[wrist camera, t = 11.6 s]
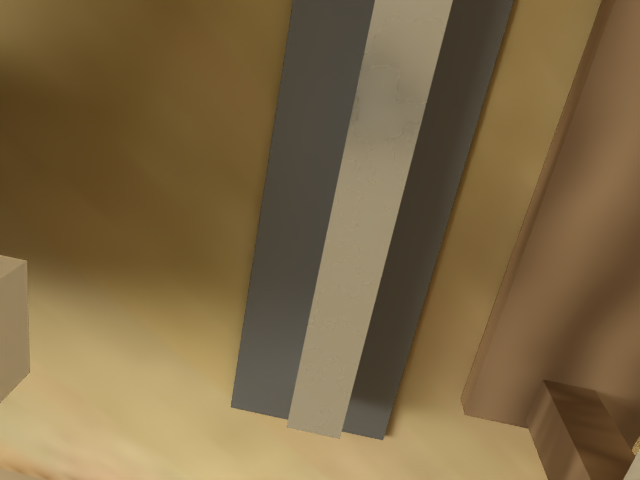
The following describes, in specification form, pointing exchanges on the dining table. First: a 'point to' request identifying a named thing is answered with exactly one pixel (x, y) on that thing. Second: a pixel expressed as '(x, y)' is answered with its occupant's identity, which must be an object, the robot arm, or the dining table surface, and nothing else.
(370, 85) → the steel rail
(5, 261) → the robot arm
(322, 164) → the rubber mat
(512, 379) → the hook rack
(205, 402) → the dining table surface
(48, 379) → the dining table surface
